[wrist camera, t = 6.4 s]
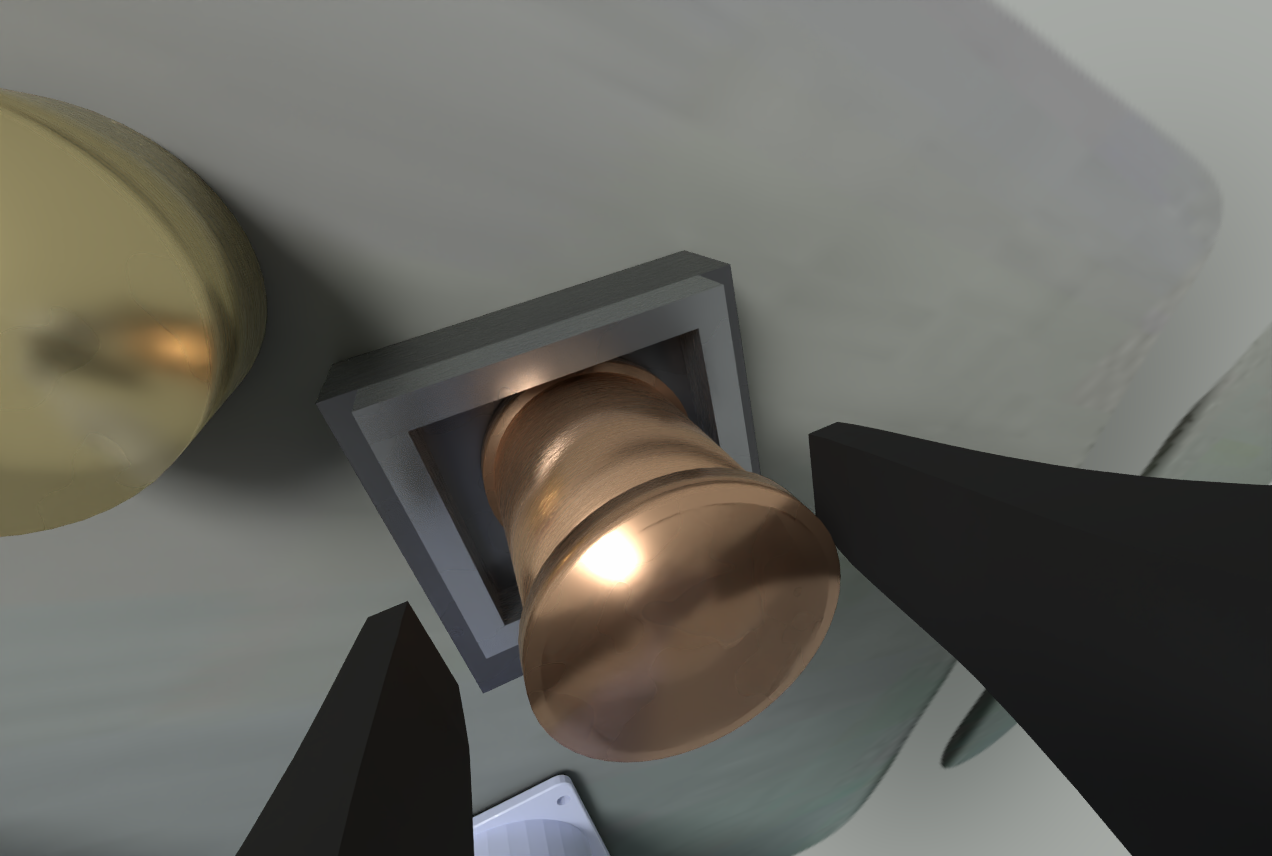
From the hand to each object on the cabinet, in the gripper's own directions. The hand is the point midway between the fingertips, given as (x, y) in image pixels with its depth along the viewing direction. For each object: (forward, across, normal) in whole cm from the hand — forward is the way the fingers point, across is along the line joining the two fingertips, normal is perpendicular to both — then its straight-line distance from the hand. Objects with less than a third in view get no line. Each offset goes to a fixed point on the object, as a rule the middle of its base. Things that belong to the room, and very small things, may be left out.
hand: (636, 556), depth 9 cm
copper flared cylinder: (+4, 0, 0) cm, 4 cm away
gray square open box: (+7, 0, +1) cm, 7 cm away
